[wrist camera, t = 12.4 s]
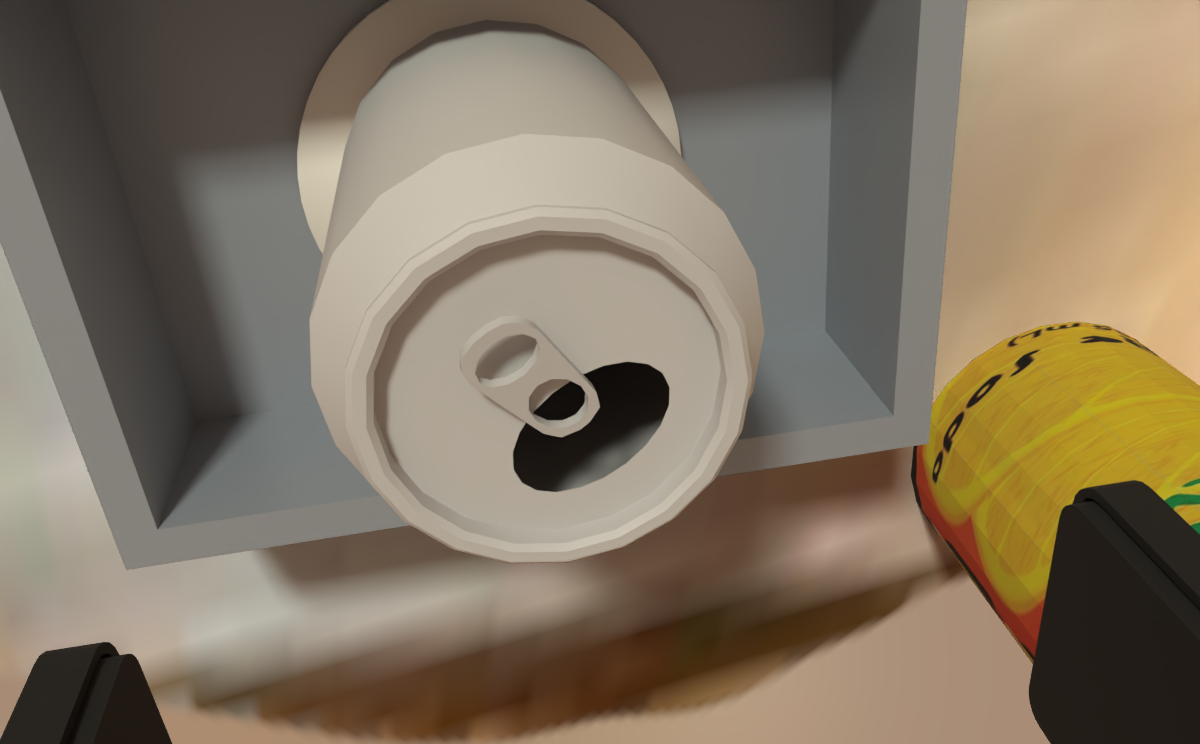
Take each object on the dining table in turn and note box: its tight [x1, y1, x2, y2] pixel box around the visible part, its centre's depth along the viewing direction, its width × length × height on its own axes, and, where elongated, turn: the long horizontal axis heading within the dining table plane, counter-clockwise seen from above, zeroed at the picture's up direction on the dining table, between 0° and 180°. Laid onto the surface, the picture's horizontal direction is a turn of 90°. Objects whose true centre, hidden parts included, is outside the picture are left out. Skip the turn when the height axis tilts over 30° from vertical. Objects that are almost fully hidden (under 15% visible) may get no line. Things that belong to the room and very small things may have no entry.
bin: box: [0, 0, 967, 570], centre depth 25 cm, size 20×14×6 cm
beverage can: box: [911, 322, 1200, 663], centre depth 30 cm, size 9×9×12 cm
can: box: [309, 20, 765, 563], centre depth 21 cm, size 8×8×12 cm
